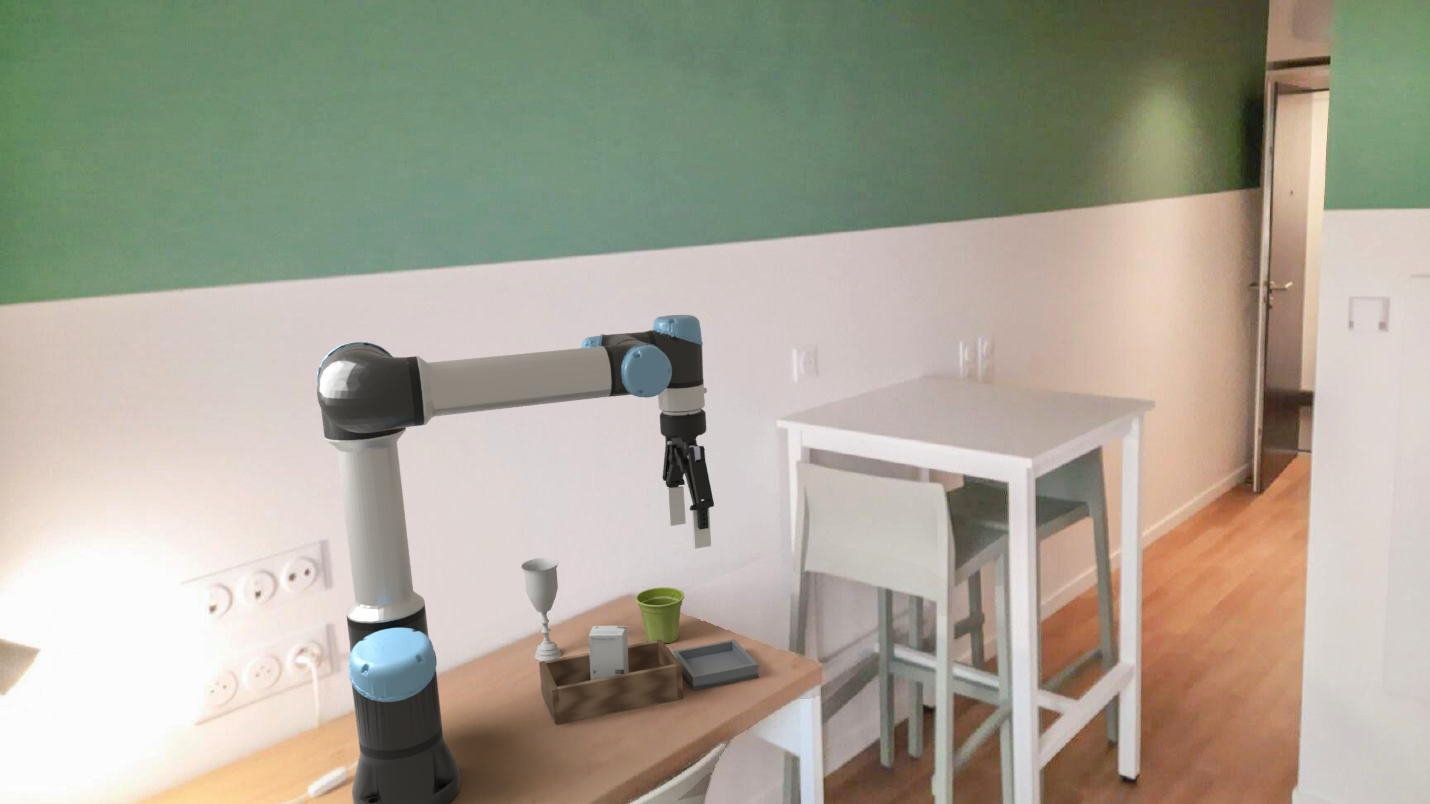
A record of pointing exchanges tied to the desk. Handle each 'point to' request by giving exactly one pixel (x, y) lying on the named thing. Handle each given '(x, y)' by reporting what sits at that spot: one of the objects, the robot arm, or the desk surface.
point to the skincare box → (608, 651)
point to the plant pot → (661, 613)
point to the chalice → (542, 599)
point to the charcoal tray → (716, 664)
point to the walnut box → (610, 683)
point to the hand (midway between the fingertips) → (689, 535)
